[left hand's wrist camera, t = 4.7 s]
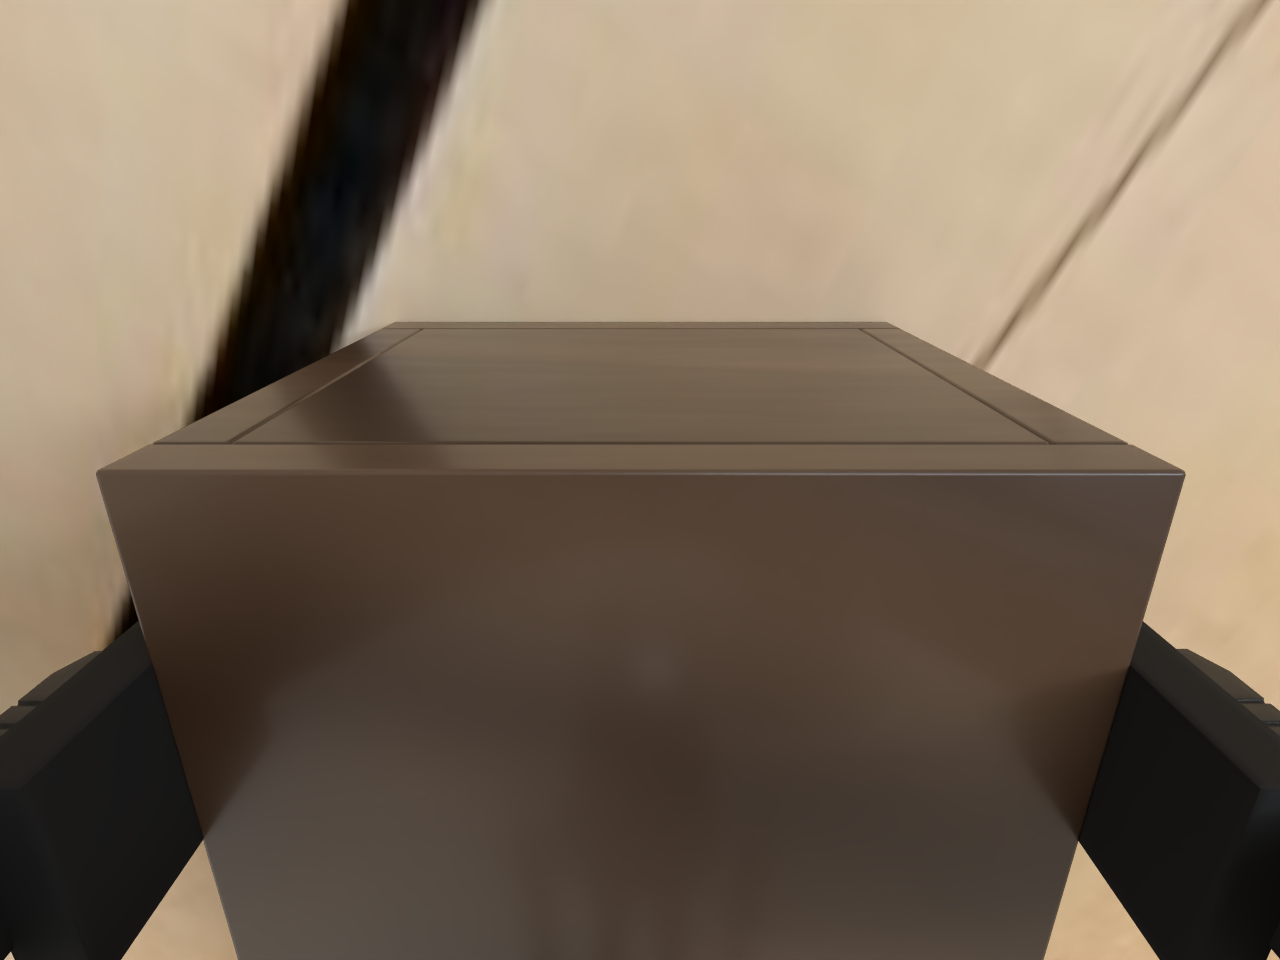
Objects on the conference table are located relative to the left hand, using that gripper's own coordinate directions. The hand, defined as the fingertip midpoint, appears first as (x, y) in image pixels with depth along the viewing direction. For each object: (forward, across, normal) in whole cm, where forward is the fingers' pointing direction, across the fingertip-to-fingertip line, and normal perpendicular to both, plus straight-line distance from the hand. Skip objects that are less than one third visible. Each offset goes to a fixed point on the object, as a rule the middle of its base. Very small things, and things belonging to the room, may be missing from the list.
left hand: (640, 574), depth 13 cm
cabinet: (+5, 0, -7) cm, 9 cm away
